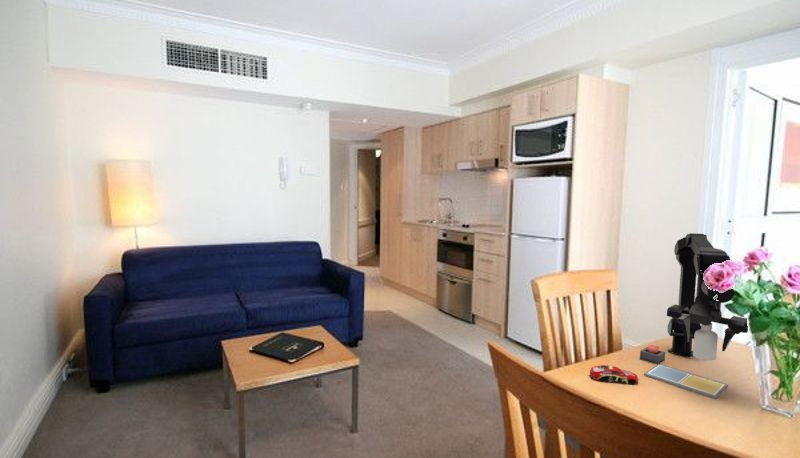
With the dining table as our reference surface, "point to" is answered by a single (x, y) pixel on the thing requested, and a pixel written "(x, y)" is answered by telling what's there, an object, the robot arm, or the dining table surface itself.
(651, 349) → the button
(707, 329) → the eye dropper bottle
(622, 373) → the race car
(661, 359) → the button housing
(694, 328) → the robot arm
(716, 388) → the grey flat rectangular board
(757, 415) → the dining table surface
